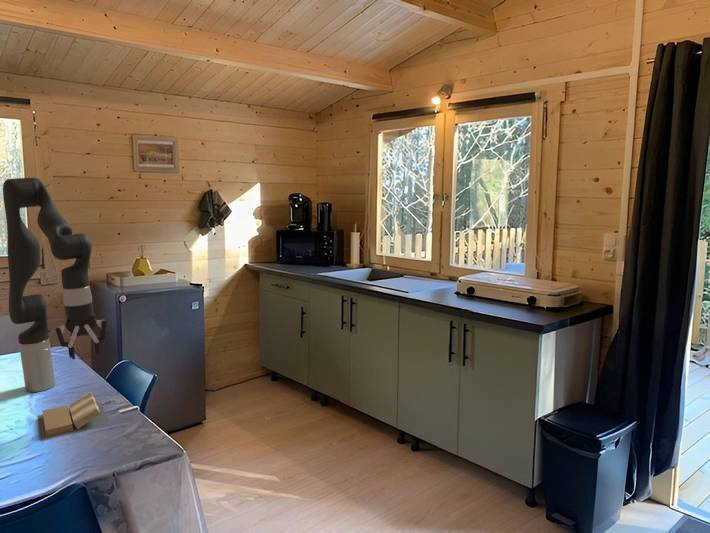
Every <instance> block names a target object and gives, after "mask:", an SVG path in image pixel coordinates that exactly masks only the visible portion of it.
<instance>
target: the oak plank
mask: <svg viewBox="0 0 710 533" xmlns="http://www.w3.org/2000/svg"><path fill="white" fill-rule="evenodd" d="M96 403H97V402H96V398H95V396H94V395H93V393H92V392H91V391H88V392H87V393H85V394H84V395H82V396H81V397H79V398H78V399H76V400H74V401H73V402H71V403H70V404H68V408H69V409H70V411H71V415H72V418H73V422H74V425H75V426H76V427H77V428H78V429H79V428H80V427H82V426H83V425H85V424H86V423H88V422H89V421H91V420H92V419H94V418H95V417H97V416H98V415H100V411H99V409H98V406H97V404H96Z"/></svg>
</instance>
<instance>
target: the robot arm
mask: <svg viewBox="0 0 710 533" xmlns="http://www.w3.org/2000/svg"><path fill="white" fill-rule="evenodd" d="M2 195H3V196H2V197H3V198H2V199H3V204H4V206H3V207H4V211H5V219H6V233H7V234H6V236H7V238H6V239H7V262H8V263H7V264H8V277H9V279H8V280H9V290H8V291H9V292H8V313H9V314H8V315H9V319H10V321H11V322H12V324H14V325H23V324H28V323H32V322H33V324H32V325H31V326H30V327H28V328H27V329H26V330H24V331H22V332H21V333H19V334H18V335H17V336H18V337H17V339H18V347H19V352H20V360H21V368H22V374H23V379H24V380H23V381H24V388H25V391H26V392H28V393H36V392H37V393H38V392H43V391H45V390H46V391H47V390H49V389H51V388H53V387H55V385H56V380H55V379H56V378H55V372H54V365H53V357H52V350H51V343H50V333H49V322H48V308H47V302H46V299H45V297H44V296H43V295H42V294H39V293H35V294H34V293H33V294H28V295H24V292H25V288H26V287H27V285H28V283H29V281H30V280H31V279H32V277H33V276H35V275H34V274H36V271H38V268H39V267H40V264H41V245H40V242H39V240H38V239H37V237H36V236H35V235H34V234H33V232H31V230H30V229H29V228H28V227H27V225H26V224H25V222H24V221H23V219H22V216H21V212H20V210H21V209H24V208H25V209H26V208H35V207H39V208H40V210H39V212H38V213H37V214H38V215H37V219H36V223H37V225H38V227H39V229H40V230H41V231H42V233H43V234H44V236H45V237H47V240H48V243H49V247H50V252H51V254H52V256H53V258H55V259H58V260H59V261H67V260H73V259H75V261H74V263H73V264H72V265H69V266H67V267H64V268H63V269H62V270H61V273H60V276H61V282H62V284H61V285H62V297H63V298H62V299H63V308H64V314H65V316H64V317H65V323H64V325H60V326H58V325H57V326H55V327H54V329H55V333H56V334H57V338H58V341H59V343H60V346H61V348H67V350H68V356H69V358H70V359H72V360H75V359H76V353H75V347H74V343H75V340H76V338H77V337H80V336H87V335H88V336H90V337H91V339H92V340H93V342H92V344H93V354H94V355H95V356H98V355H99V353H100V351H101V348H100V342H101V341H105V340H106V331H107V321H106V319H104V318H102V319H96V317H95V314H94V306H93V305H94V304H93V295H92V291H91V287H90V279H89V267H90V266H89V265H90V260H91V255H92V241H91V239H90V237H89V236H88V235H86V234H84V233H73V228H72V227H71V225H70V224H69V222H68V221H67V220H66V219H65V218H64V217H63V216H62V215H61V213H60V211H58V209H57V206H56V204H55V202H54V201H53V199H52V197H51V194H50V193H49V191H48V190H47V188H46V186H45V184H44V183H43V181H41V180H40V179H39V178H37V177H20V178H18V177H17V178H8V179H5V180H4V182H3V185H2ZM96 325H97V326H98V327H99V335H98V336H97V335H96V334H95V332H94V331H93V329H94V327H96ZM65 330H67V331H68V332H69V333H70V334H69V338H68V341H65V339H64V336H63V334H64V333H65Z"/></svg>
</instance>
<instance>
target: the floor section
mask: <svg viewBox="0 0 710 533" xmlns="http://www.w3.org/2000/svg"><path fill="white" fill-rule="evenodd" d="M96 404H97V406H98V409H99V411H100V415H98V416H97V417H95V418H94V419H92V420H91V421H89V422H88V423H86V424H85V425H83V426H82V427H80V428H79V429H78V428H77V427H76V426H75V425H74V422H73V418H72V415H71V411H70V408H69V405H62V406H58V407H52V408H48V409H44V410H42V414H39V415H37V422H38V429H39V438H40V442H44V441H48V440H52V439H55V438H59V437H65V436H69V435H72V434H77V433H81V432H84V431H85V432H86V431H89V430H93V429H96V428H100V427H102V428H103V427H105V426H109V425H111V422H110V420H109V417H108V416H107V413H106V411H105V410H106V409H105V408H104V406H103V404H102V401H98V402H96Z"/></svg>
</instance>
